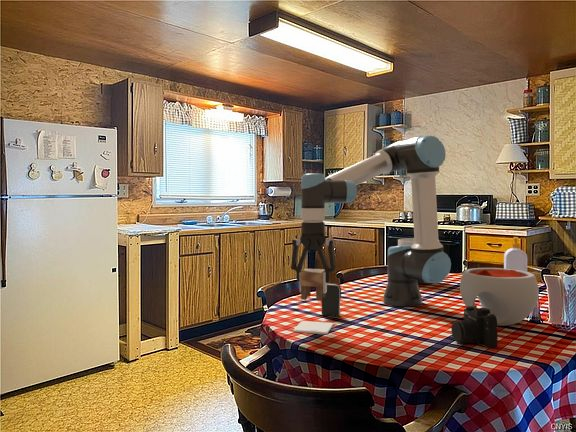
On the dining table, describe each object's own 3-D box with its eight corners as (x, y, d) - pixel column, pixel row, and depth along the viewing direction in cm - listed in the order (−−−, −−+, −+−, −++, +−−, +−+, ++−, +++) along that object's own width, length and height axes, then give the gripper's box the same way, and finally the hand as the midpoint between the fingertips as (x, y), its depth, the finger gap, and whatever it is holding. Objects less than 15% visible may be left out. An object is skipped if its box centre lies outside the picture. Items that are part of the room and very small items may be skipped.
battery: (342, 314, 166) (342, 283, 166) (339, 317, 163) (338, 285, 162) (324, 312, 169) (324, 282, 169) (320, 315, 166) (320, 283, 165)
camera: (442, 335, 141) (443, 303, 140) (475, 333, 142) (475, 301, 142) (465, 350, 127) (465, 314, 127) (501, 348, 128) (501, 313, 128)
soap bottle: (524, 284, 219) (524, 236, 218) (527, 287, 212) (527, 238, 211) (503, 283, 221) (503, 236, 220) (505, 286, 215) (506, 237, 214)
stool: (325, 296, 151) (325, 269, 151) (321, 300, 145) (321, 272, 144) (305, 295, 153) (305, 268, 153) (300, 299, 147) (300, 271, 146)
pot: (555, 331, 143) (555, 274, 143) (481, 333, 142) (481, 276, 141) (511, 312, 167) (512, 263, 167) (448, 314, 165) (448, 265, 165)
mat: (333, 324, 153) (333, 323, 153) (327, 334, 143) (327, 332, 143) (301, 322, 156) (301, 320, 156) (293, 331, 146) (293, 329, 146)
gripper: (345, 221, 149) (345, 291, 150) (286, 220, 155) (287, 288, 155) (341, 222, 142) (341, 295, 143) (280, 221, 147) (280, 292, 148)
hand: (313, 291), depth 149 cm, fingers closed on stool, 7 cm apart
